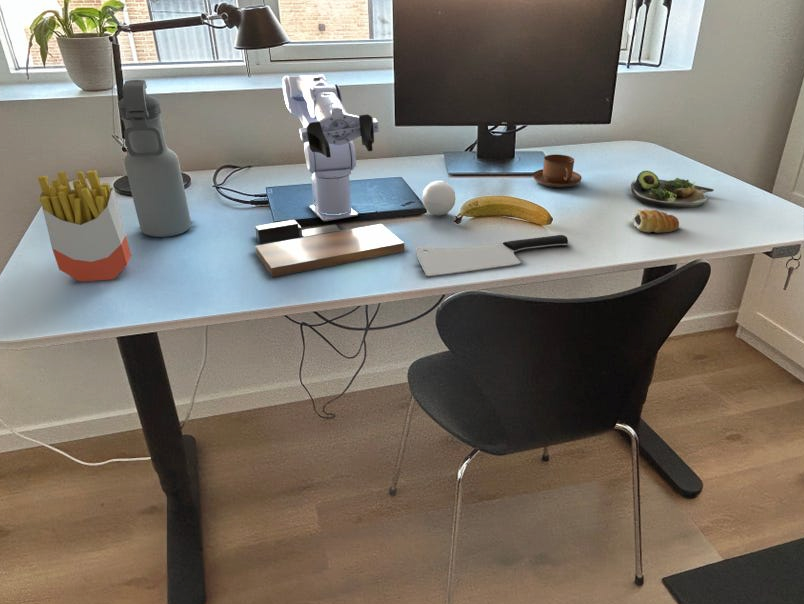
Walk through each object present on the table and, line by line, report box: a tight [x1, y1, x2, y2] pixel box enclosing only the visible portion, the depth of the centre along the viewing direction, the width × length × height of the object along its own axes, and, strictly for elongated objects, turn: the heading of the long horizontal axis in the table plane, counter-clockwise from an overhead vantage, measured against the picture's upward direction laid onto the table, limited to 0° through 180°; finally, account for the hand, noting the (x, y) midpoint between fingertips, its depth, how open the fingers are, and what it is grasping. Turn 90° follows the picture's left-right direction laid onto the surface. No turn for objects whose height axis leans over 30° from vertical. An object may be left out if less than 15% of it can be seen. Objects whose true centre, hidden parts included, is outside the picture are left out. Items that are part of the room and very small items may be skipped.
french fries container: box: [37, 169, 132, 282], centre depth 111 cm, size 5×11×18 cm, turn 102°
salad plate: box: [630, 170, 715, 208], centre depth 157 cm, size 19×18×5 cm
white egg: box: [415, 180, 457, 216], centre depth 143 cm, size 10×7×7 cm
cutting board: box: [254, 223, 405, 278], centre depth 126 cm, size 11×26×2 cm, turn 119°
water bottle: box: [117, 79, 192, 238], centre depth 127 cm, size 10×10×28 cm
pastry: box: [632, 209, 680, 234], centre depth 140 cm, size 9×7×4 cm
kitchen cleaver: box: [415, 234, 569, 277], centre depth 126 cm, size 31×2×10 cm
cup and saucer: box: [532, 154, 583, 188], centre depth 163 cm, size 12×12×6 cm
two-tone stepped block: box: [254, 219, 342, 244], centre depth 133 cm, size 4×17×3 cm, turn 119°
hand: (349, 149), depth 118 cm, fingers open, 7 cm apart
